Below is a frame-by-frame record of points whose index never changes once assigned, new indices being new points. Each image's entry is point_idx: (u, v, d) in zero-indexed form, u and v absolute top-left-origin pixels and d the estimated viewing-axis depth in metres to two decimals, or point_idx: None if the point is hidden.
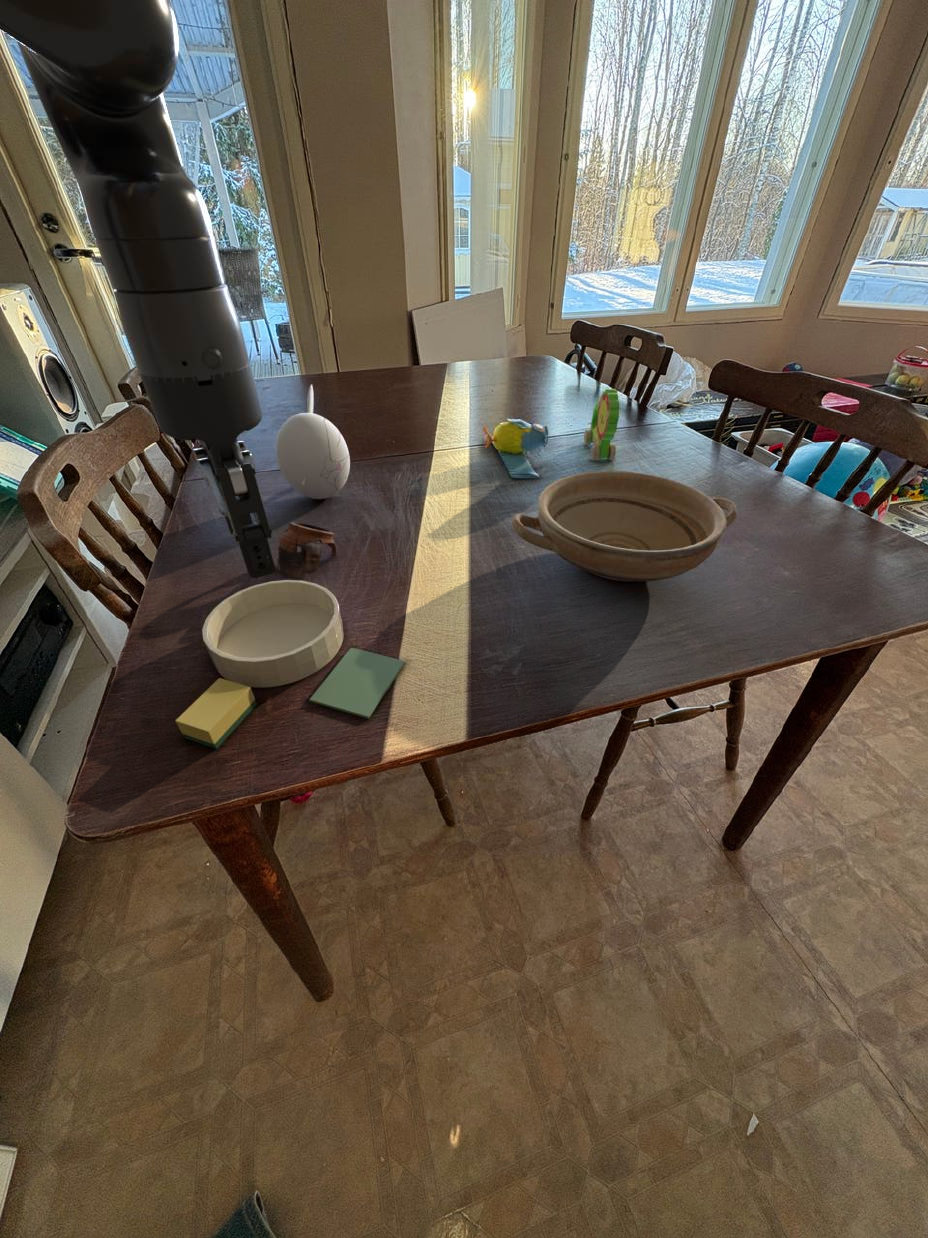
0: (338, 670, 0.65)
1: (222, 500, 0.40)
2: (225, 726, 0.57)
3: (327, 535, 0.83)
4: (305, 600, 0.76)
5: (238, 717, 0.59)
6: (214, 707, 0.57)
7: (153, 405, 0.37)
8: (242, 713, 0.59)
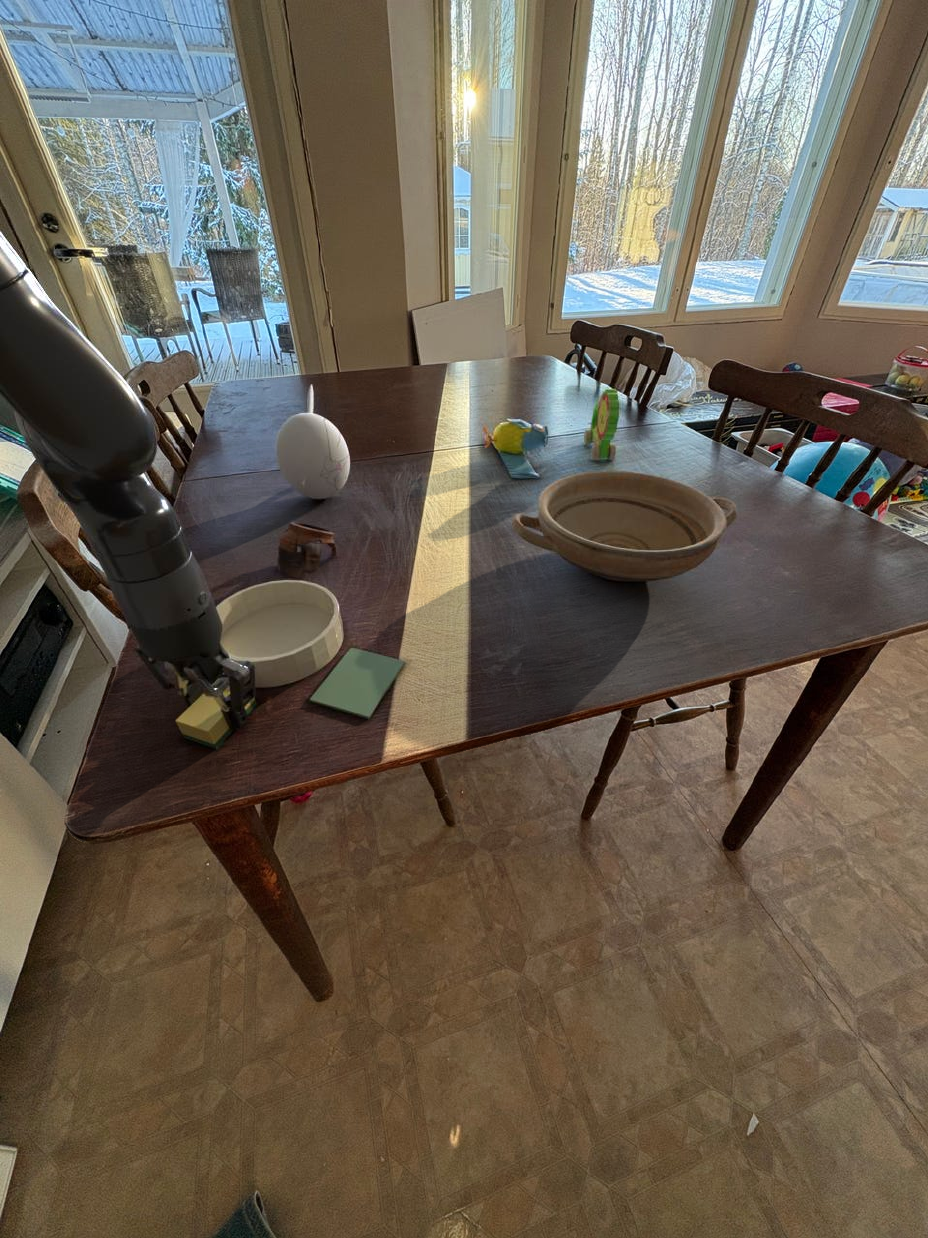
0: (338, 670, 0.65)
1: (213, 689, 0.53)
2: (225, 726, 0.57)
3: (327, 535, 0.83)
4: (305, 600, 0.76)
5: None
6: (214, 707, 0.57)
7: (155, 646, 0.47)
8: None
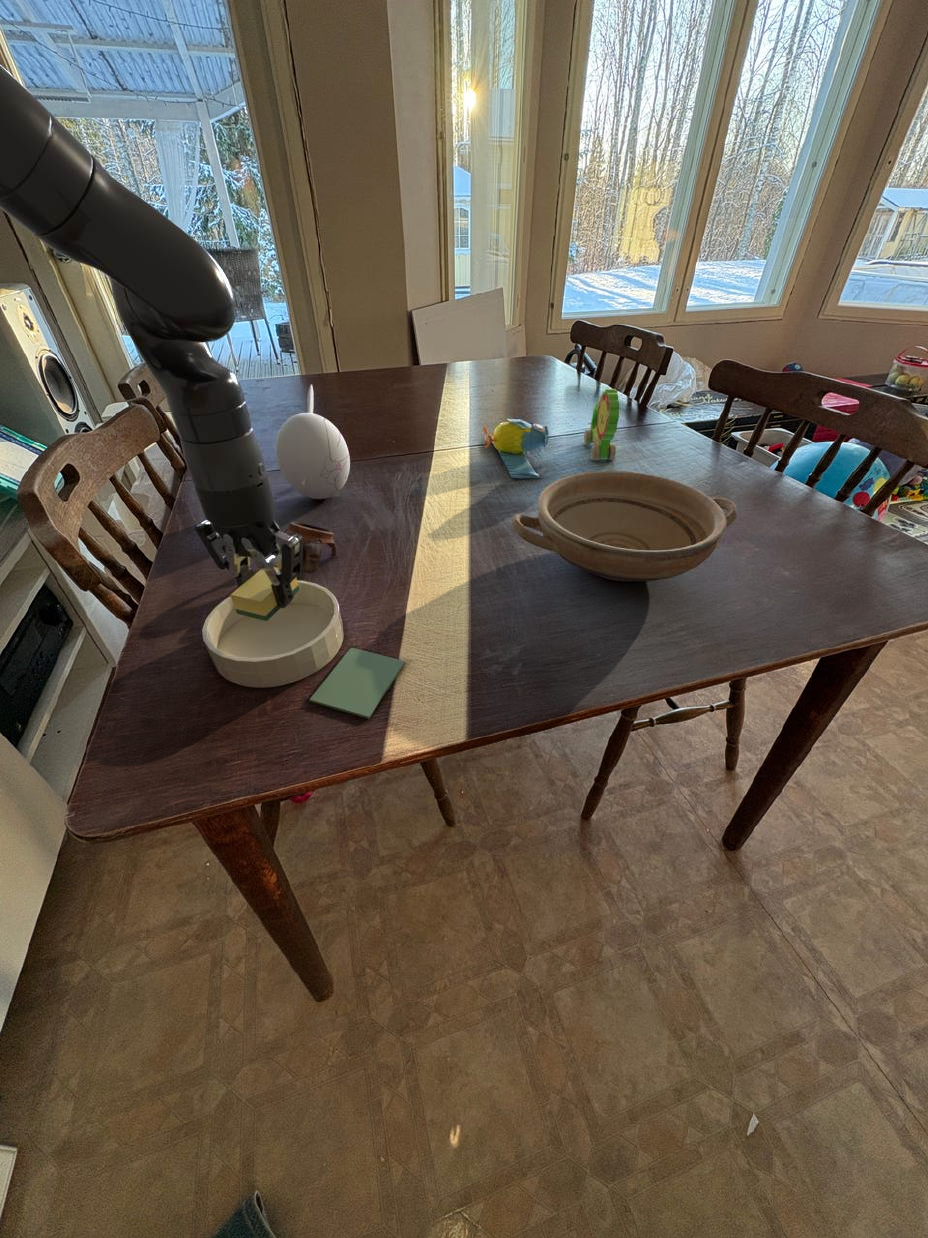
0: (338, 670, 0.65)
1: (266, 562, 0.60)
2: (274, 601, 0.63)
3: (327, 535, 0.83)
4: (305, 600, 0.76)
5: None
6: (264, 585, 0.64)
7: (221, 509, 0.54)
8: None
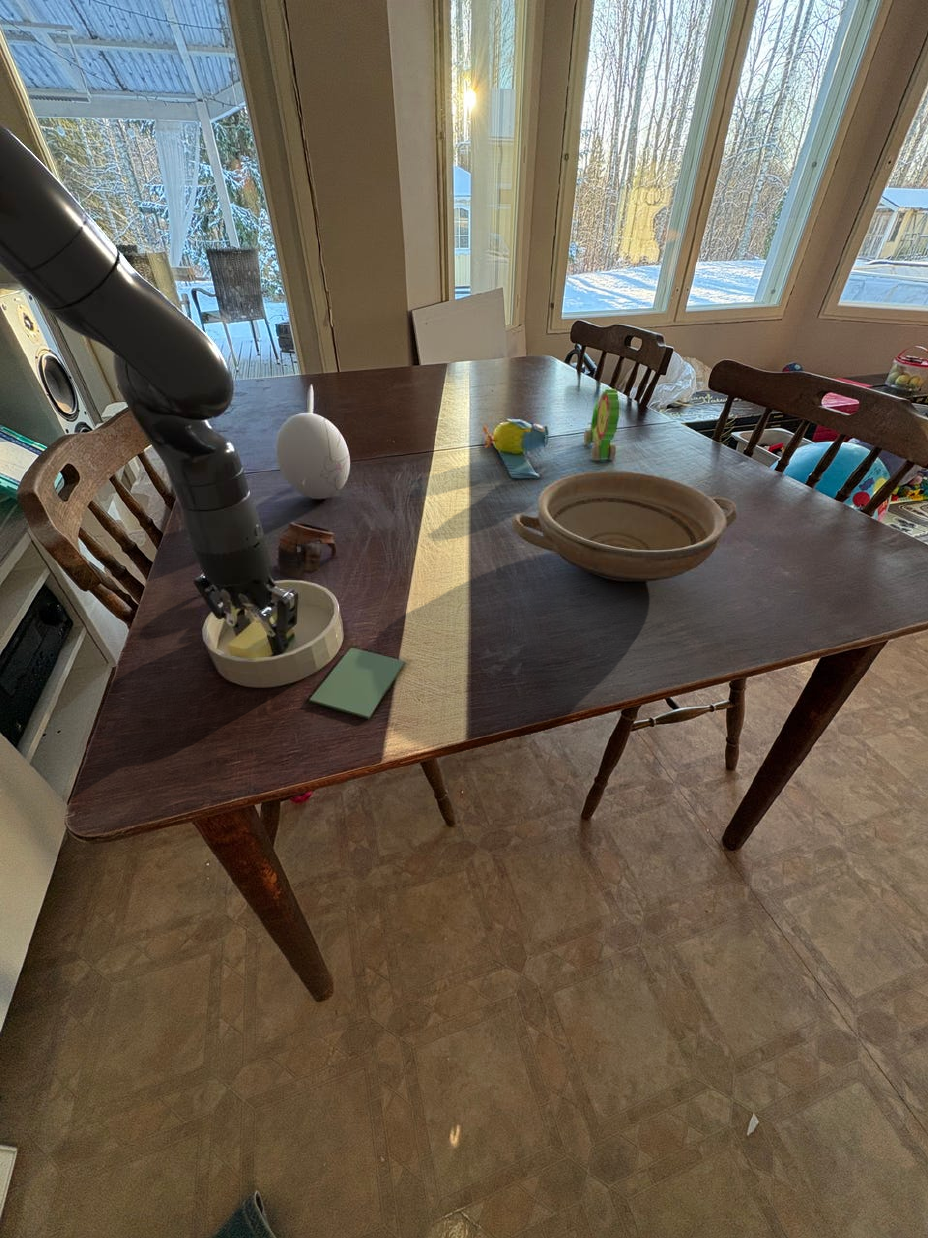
0: (338, 670, 0.65)
1: (262, 615, 0.62)
2: (269, 650, 0.65)
3: (326, 535, 0.83)
4: (305, 600, 0.76)
5: None
6: (260, 635, 0.65)
7: (218, 570, 0.56)
8: None
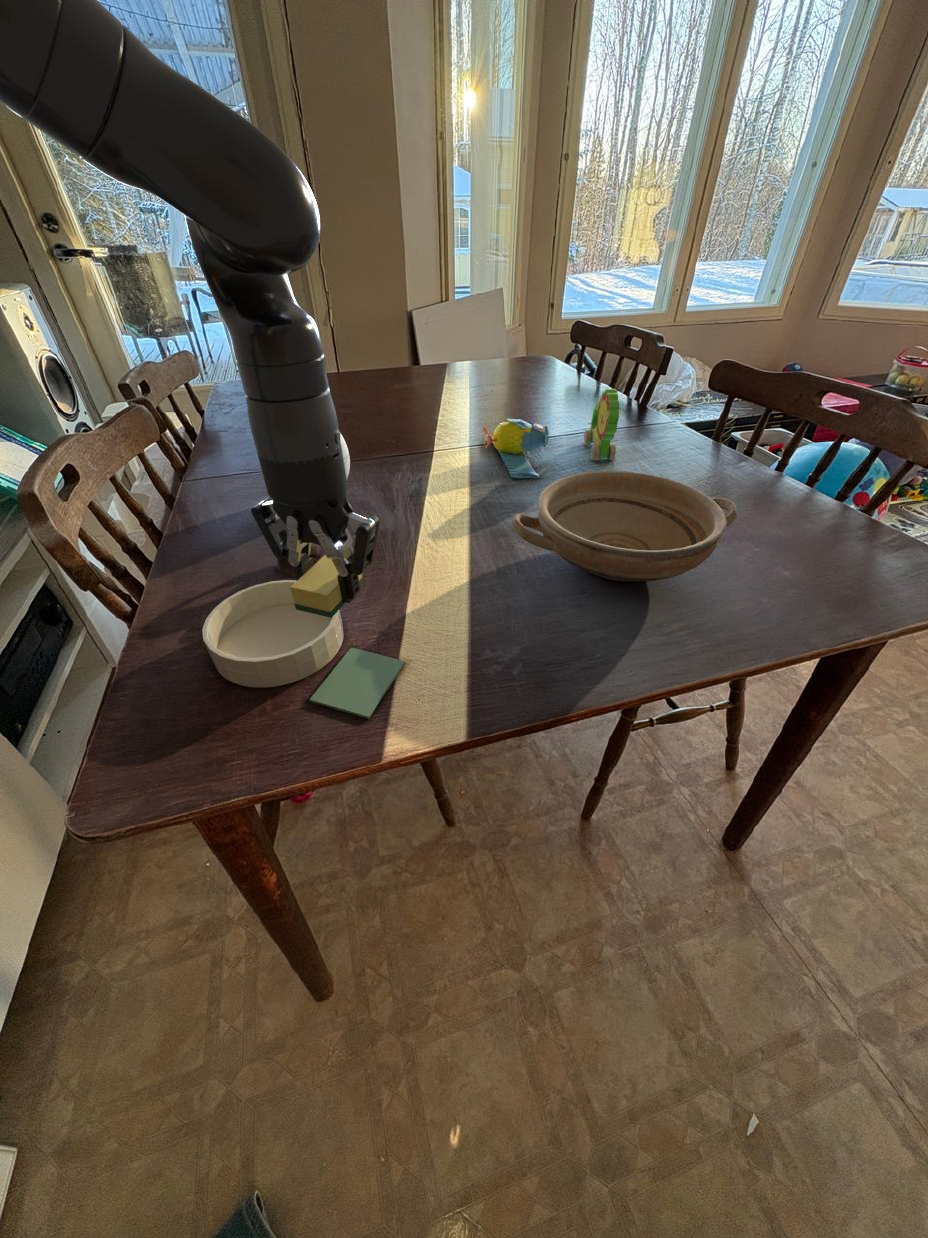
0: (338, 670, 0.65)
1: (335, 548, 0.51)
2: (339, 595, 0.55)
3: None
4: None
5: None
6: (327, 576, 0.55)
7: (291, 484, 0.45)
8: None
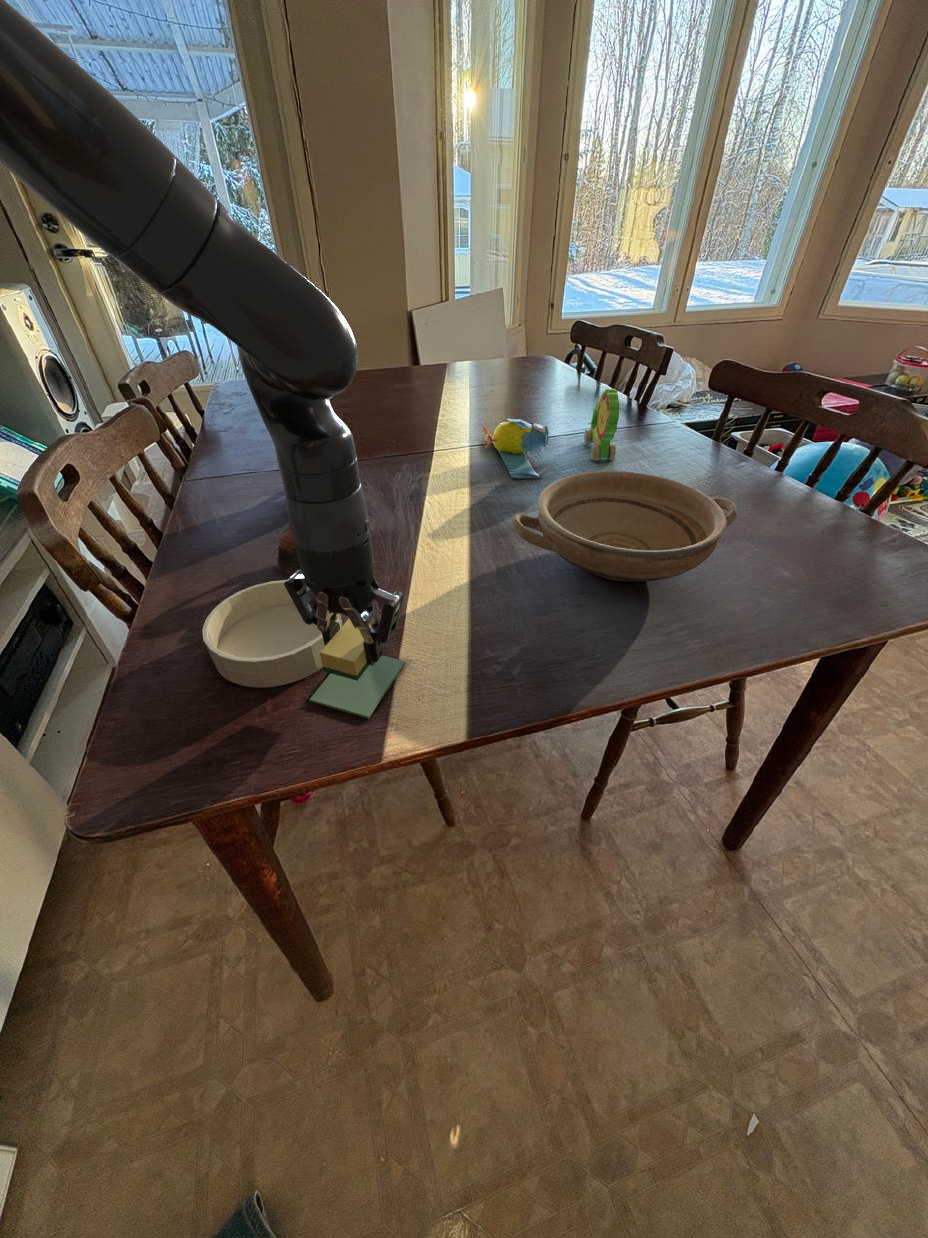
0: None
1: (362, 620, 0.55)
2: (364, 659, 0.59)
3: None
4: None
5: None
6: (353, 641, 0.59)
7: (324, 570, 0.49)
8: None
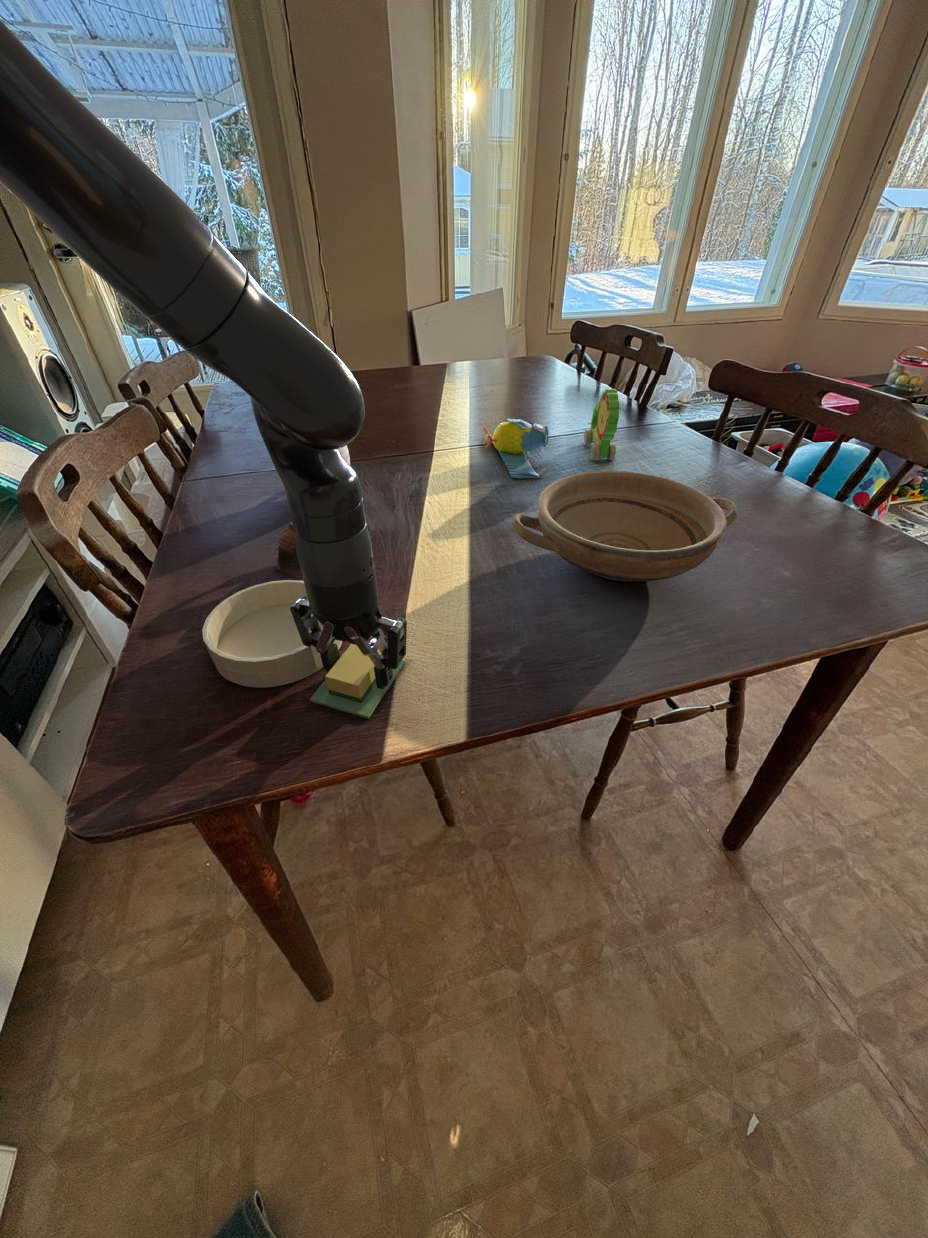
0: None
1: (370, 647, 0.58)
2: (368, 682, 0.61)
3: None
4: None
5: None
6: (357, 665, 0.62)
7: (331, 603, 0.52)
8: None
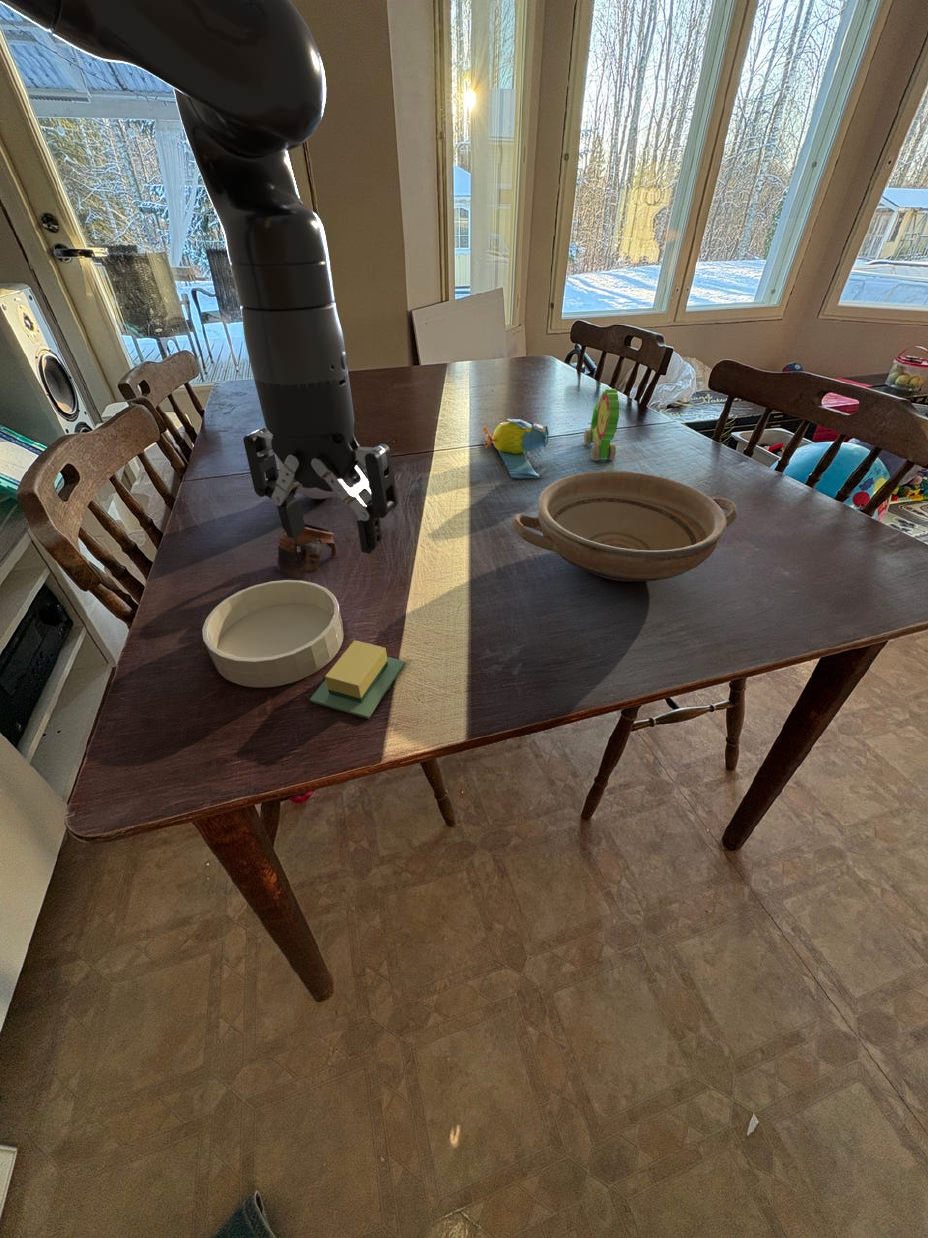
0: None
1: (347, 487, 0.46)
2: (368, 682, 0.61)
3: (326, 535, 0.83)
4: (305, 600, 0.76)
5: (376, 675, 0.63)
6: (357, 665, 0.62)
7: (291, 412, 0.40)
8: (379, 672, 0.64)
